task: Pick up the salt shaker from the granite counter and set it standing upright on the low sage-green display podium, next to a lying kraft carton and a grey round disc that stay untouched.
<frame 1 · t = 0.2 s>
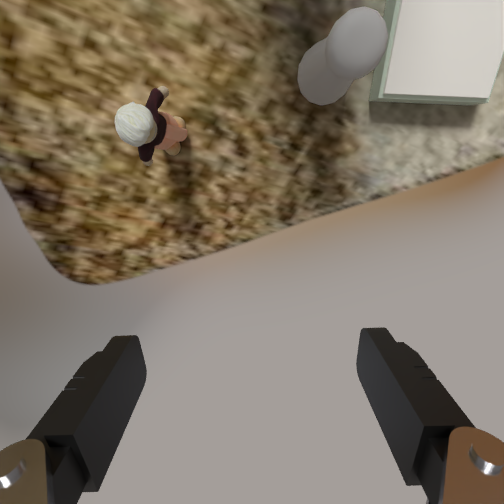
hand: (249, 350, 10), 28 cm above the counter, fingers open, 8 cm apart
salt shaker: (319, 79, 31), on the counter
podium: (434, 41, 30), on the counter
grandmother figurine: (173, 130, 33), on the counter
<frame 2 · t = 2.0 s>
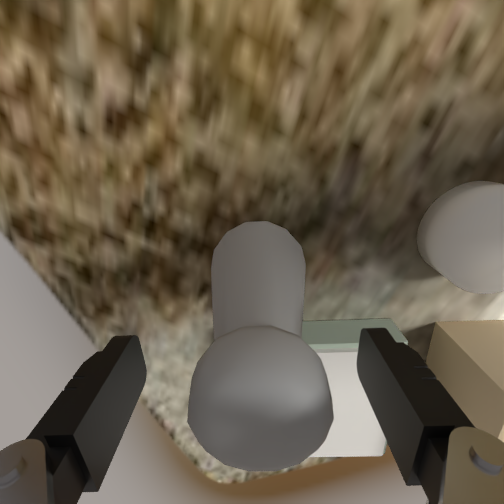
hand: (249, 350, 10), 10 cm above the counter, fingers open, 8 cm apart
salt shaker: (258, 250, 19), on the counter
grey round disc: (465, 229, 18), on the counter
podium: (310, 378, 24), on the counter
kraft carton: (464, 374, 23), on the counter
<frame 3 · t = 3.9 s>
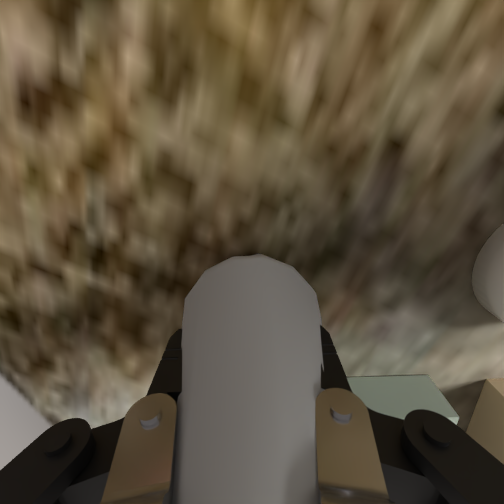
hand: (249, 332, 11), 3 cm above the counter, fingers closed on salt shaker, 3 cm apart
salt shaker: (251, 289, 14), on the counter, touching gripper
podium: (319, 445, 18), on the counter
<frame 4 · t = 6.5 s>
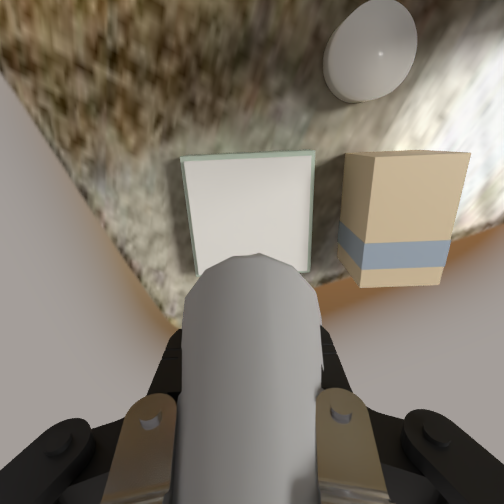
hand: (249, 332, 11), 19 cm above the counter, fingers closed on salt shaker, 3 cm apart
salt shaker: (251, 288, 14), point 16 cm above the counter, touching gripper
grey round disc: (359, 61, 24), on the counter
podium: (250, 212, 29), on the counter
kraft carton: (374, 207, 29), on the counter
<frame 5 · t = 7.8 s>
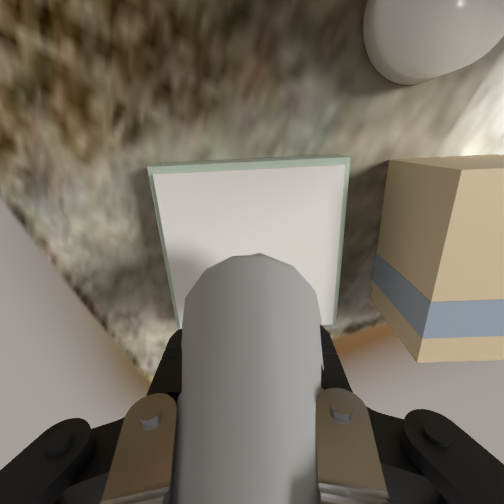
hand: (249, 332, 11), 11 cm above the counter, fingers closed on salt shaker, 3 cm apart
salt shaker: (251, 288, 14), point 7 cm above the counter, touching gripper
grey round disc: (418, 20, 16), on the counter
podium: (252, 241, 21), on the counter
kraft carton: (425, 234, 21), on the counter
when the fingers open (8 cm above the counter, at t = 9.2 s): salt shaker drops 1 cm, resting on podium.
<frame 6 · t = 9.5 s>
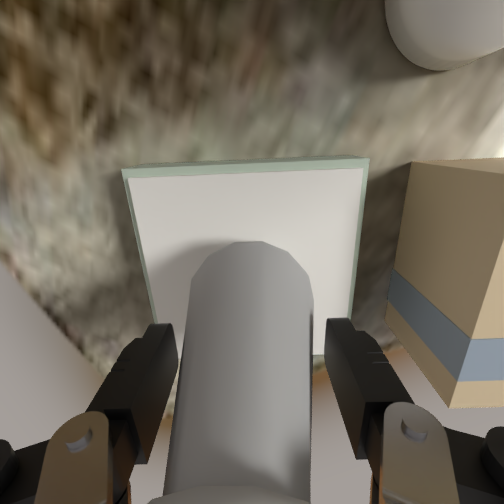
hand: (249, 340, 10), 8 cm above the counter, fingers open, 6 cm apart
salt shaker: (252, 275, 15), point 3 cm above the counter, touching podium
podium: (250, 256, 18), on the counter
kraft carton: (450, 248, 18), on the counter
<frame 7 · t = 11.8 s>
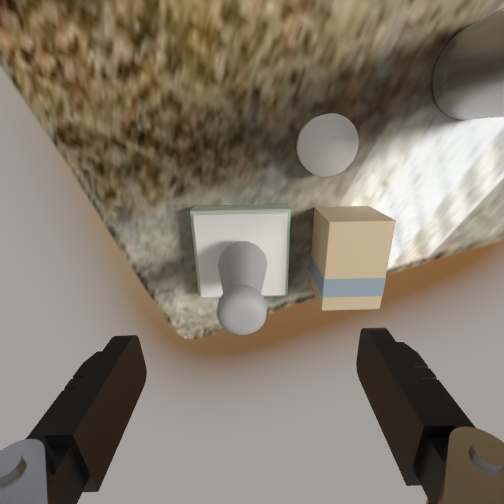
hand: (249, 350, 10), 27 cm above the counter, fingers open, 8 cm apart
salt shaker: (243, 256, 35), point 3 cm above the counter, touching podium
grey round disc: (323, 144, 32), on the counter, tilted 5°
podium: (242, 248, 37), on the counter
kraft carton: (337, 246, 37), on the counter
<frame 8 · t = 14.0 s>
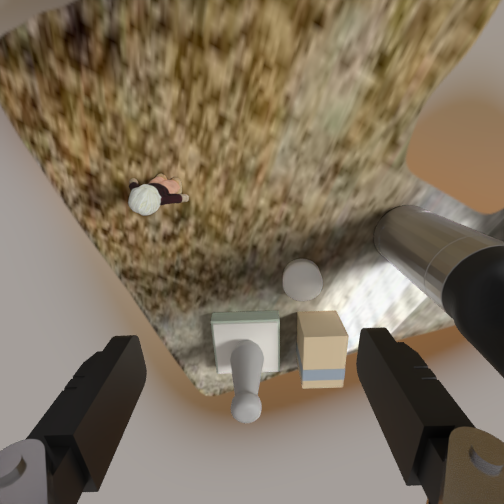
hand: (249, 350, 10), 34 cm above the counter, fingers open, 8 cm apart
salt shaker: (247, 348, 50), point 3 cm above the counter, touching podium
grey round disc: (301, 275, 47), on the counter, tilted 6°
podium: (247, 338, 52), on the counter
kraft carton: (315, 335, 52), on the counter
grandmother figurine: (171, 185, 41), on the counter
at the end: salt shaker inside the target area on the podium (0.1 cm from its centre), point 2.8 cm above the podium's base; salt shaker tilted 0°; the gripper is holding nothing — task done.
